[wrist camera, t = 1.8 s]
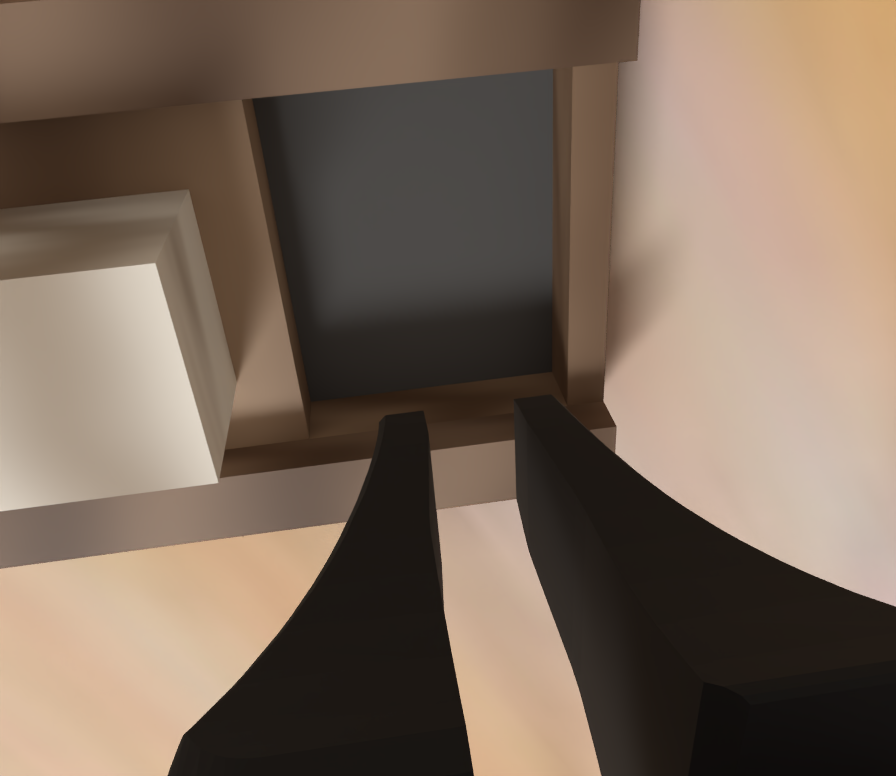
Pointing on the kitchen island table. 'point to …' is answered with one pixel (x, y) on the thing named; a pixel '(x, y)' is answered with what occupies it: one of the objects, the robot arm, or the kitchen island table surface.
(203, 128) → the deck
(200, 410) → the cube
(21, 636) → the kitchen island table surface
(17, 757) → the kitchen island table surface
